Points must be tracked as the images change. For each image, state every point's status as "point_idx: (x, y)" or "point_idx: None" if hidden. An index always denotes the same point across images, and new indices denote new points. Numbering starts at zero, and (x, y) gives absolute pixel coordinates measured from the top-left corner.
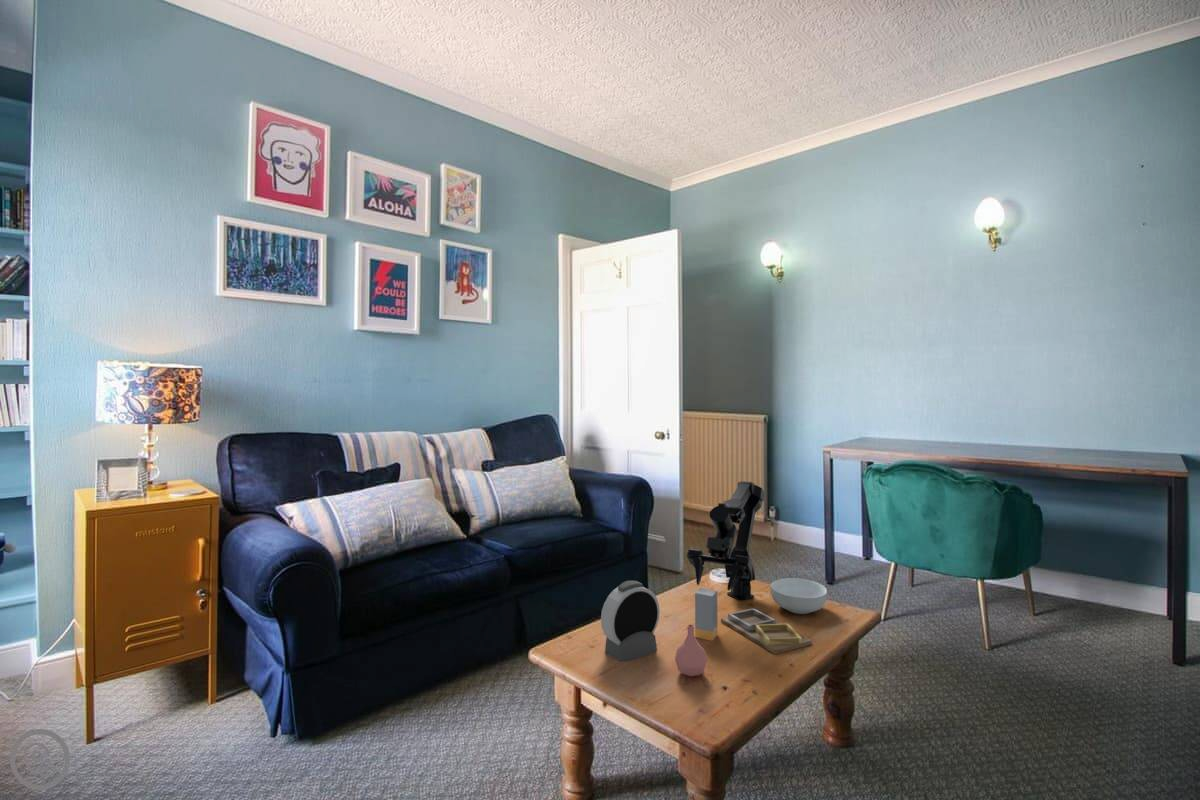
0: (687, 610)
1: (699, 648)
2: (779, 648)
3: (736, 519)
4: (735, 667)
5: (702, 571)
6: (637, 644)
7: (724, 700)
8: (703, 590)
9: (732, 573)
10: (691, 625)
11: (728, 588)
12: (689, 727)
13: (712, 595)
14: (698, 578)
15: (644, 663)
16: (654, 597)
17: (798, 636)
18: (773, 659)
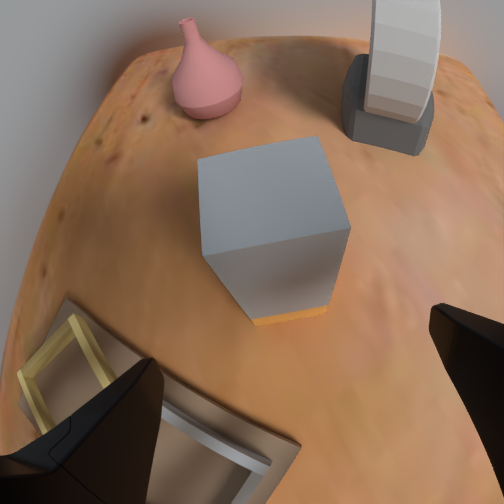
0: (460, 439)
1: (178, 66)
2: (58, 315)
3: None
4: (139, 181)
5: (500, 471)
6: (348, 71)
7: (138, 100)
8: (300, 199)
9: (61, 445)
10: (186, 23)
11: (144, 359)
12: (167, 53)
13: (200, 166)
14: (457, 319)
15: (319, 89)
16: (372, 15)
17: (22, 380)
18: (72, 271)
